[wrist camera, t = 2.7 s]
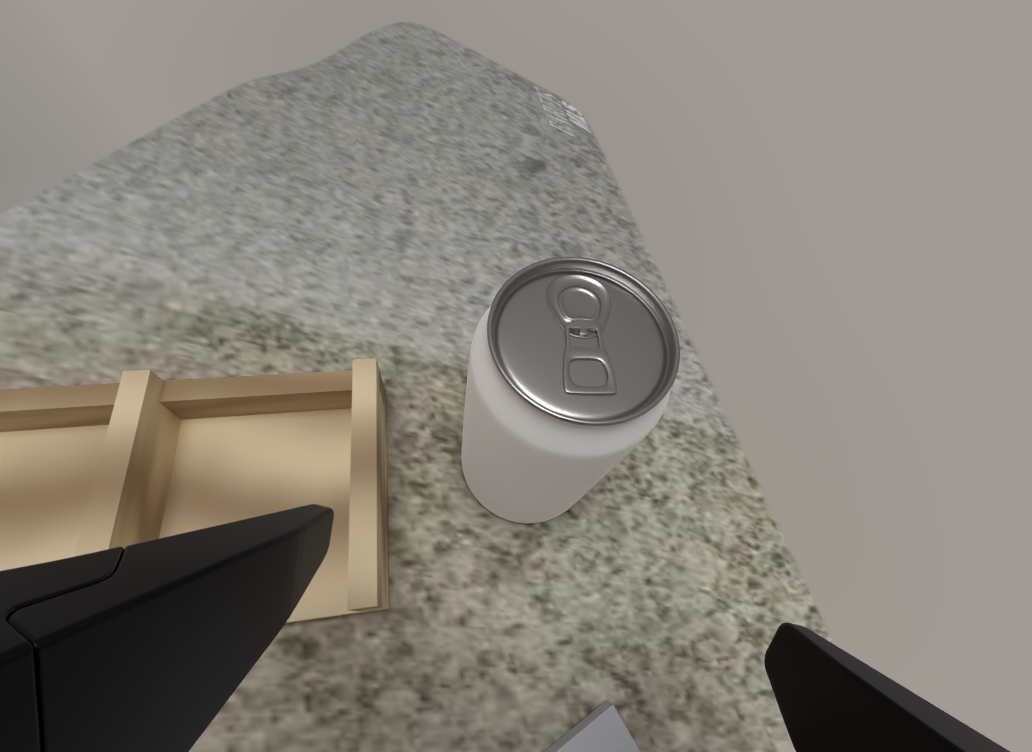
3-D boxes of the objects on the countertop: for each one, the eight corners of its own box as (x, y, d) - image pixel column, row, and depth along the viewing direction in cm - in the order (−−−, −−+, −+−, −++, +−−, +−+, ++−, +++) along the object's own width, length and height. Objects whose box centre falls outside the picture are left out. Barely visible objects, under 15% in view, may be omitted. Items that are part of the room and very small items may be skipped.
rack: (388, 609, 20) (377, 606, 17) (-159, 685, 17) (-317, 701, 14) (386, 396, 25) (376, 358, 21) (-50, 424, 21) (-147, 385, 18)
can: (580, 402, 26) (671, 251, 15) (594, 524, 23) (718, 441, 13) (461, 400, 25) (471, 239, 15) (459, 527, 22) (471, 440, 12)
